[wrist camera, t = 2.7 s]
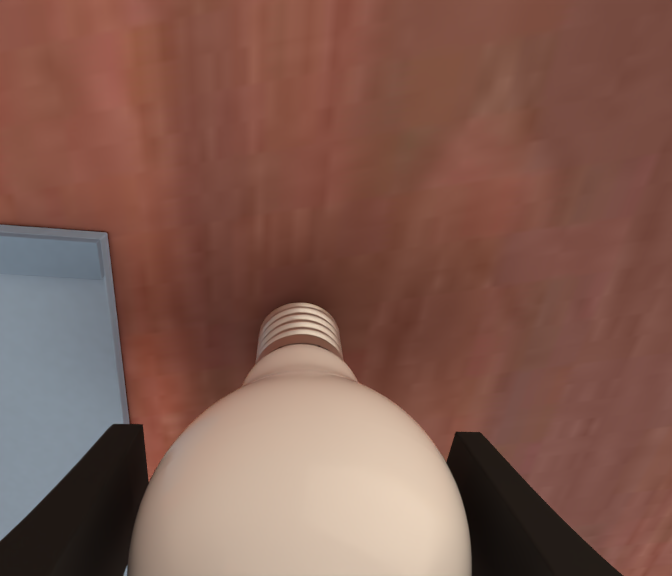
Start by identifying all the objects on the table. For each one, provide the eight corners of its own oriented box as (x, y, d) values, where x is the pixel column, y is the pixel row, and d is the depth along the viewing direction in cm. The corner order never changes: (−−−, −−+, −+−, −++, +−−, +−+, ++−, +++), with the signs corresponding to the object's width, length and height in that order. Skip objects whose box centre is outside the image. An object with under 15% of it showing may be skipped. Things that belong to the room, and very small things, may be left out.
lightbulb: (191, 380, 17) (48, 846, 7) (225, 219, 14) (70, 605, 4) (356, 410, 18) (432, 837, 8) (416, 267, 15) (631, 648, 6)
